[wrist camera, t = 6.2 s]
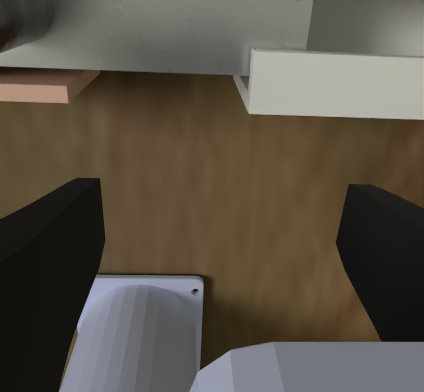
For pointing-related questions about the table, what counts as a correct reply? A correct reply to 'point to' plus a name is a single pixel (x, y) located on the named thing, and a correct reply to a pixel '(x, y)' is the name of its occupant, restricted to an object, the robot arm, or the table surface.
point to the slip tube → (149, 33)
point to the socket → (43, 83)
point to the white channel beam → (345, 64)
